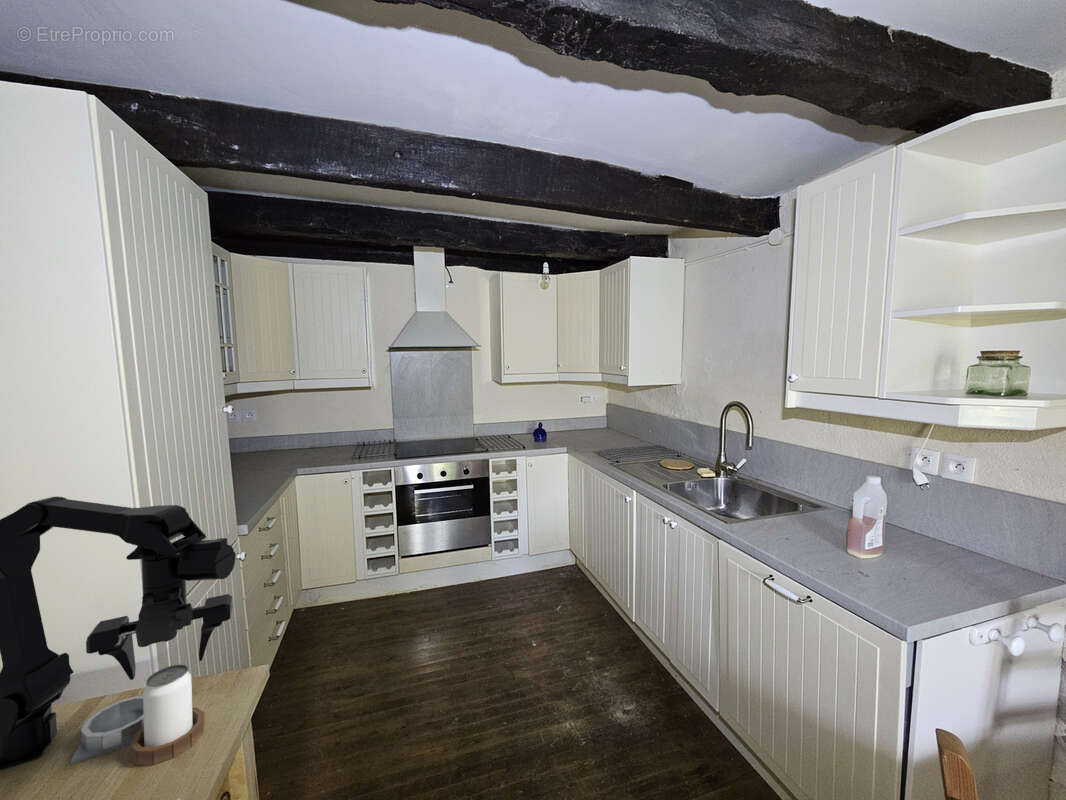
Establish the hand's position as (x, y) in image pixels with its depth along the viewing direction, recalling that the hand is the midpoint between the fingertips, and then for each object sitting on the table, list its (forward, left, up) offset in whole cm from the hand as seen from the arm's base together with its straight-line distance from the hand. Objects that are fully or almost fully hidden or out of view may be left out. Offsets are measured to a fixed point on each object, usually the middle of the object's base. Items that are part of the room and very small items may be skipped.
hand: (168, 668), depth 75 cm
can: (0, 0, -13) cm, 13 cm away
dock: (-8, +8, -13) cm, 17 cm away
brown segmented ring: (0, 0, -13) cm, 13 cm away
